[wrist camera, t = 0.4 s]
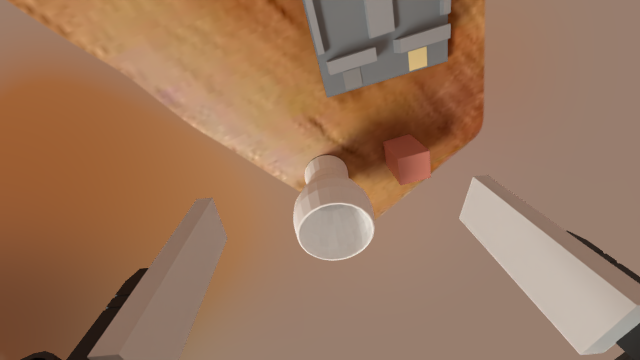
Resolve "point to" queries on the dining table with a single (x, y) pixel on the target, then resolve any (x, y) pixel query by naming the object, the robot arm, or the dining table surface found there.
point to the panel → (376, 39)
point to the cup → (332, 212)
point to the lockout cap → (407, 159)
